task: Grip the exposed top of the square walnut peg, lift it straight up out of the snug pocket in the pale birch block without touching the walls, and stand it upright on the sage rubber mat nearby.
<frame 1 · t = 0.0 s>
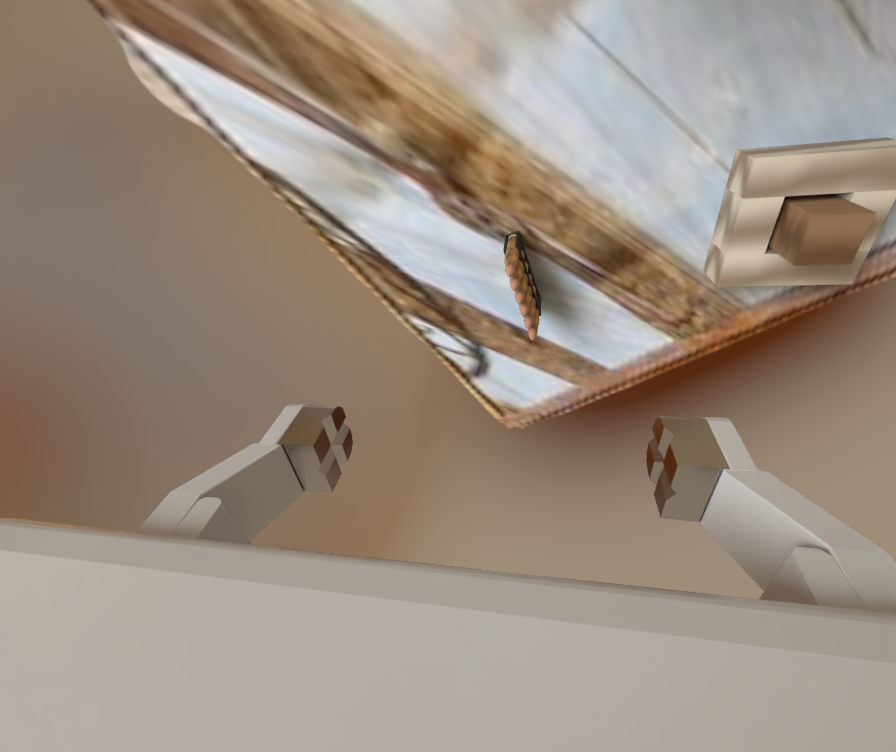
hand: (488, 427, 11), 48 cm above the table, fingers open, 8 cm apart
pocket block: (784, 211, 48), on the table
walnut peg: (806, 224, 44), in the pocket block
ammunition clip: (523, 268, 58), on the table
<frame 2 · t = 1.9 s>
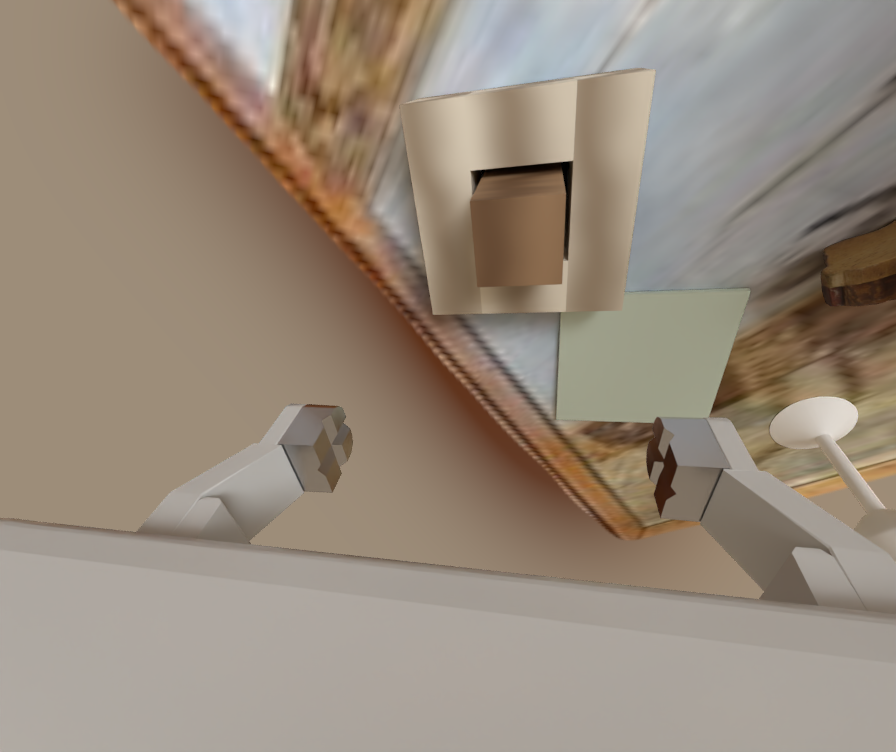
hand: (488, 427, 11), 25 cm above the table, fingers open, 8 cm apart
sage mat: (637, 361, 38), on the table
pocket block: (524, 197, 31), on the table
walnut peg: (521, 217, 27), in the pocket block
champagne flute: (811, 422, 38), on the table
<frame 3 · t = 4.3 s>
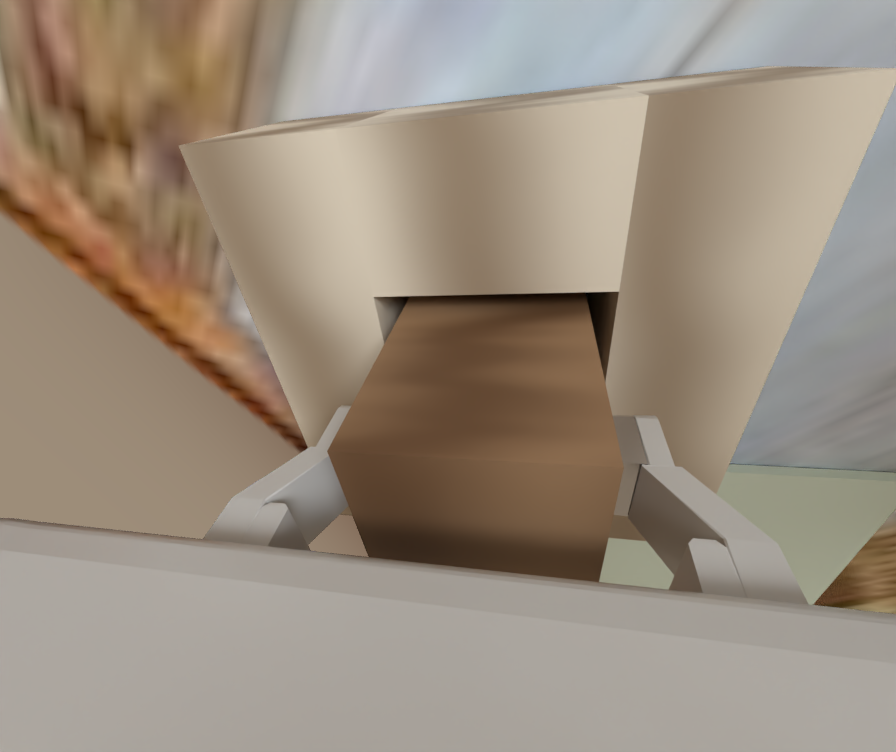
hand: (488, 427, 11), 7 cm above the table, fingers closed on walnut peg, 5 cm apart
sage mat: (690, 549, 23), on the table
pocket block: (503, 310, 16), on the table
walnut peg: (493, 389, 12), in the pocket block, touching gripper
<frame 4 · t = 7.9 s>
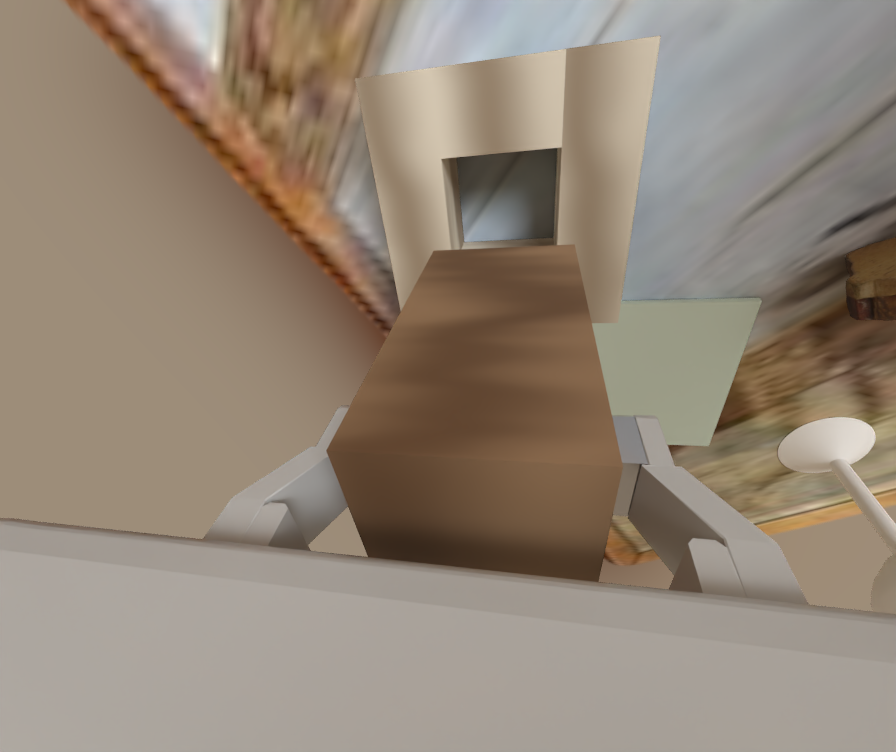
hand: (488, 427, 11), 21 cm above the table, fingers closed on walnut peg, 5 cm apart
sage mat: (634, 377, 34), on the table
pocket block: (506, 192, 27), on the table
walnut peg: (493, 389, 12), point 19 cm above the table, touching gripper
champagne flute: (823, 444, 35), on the table
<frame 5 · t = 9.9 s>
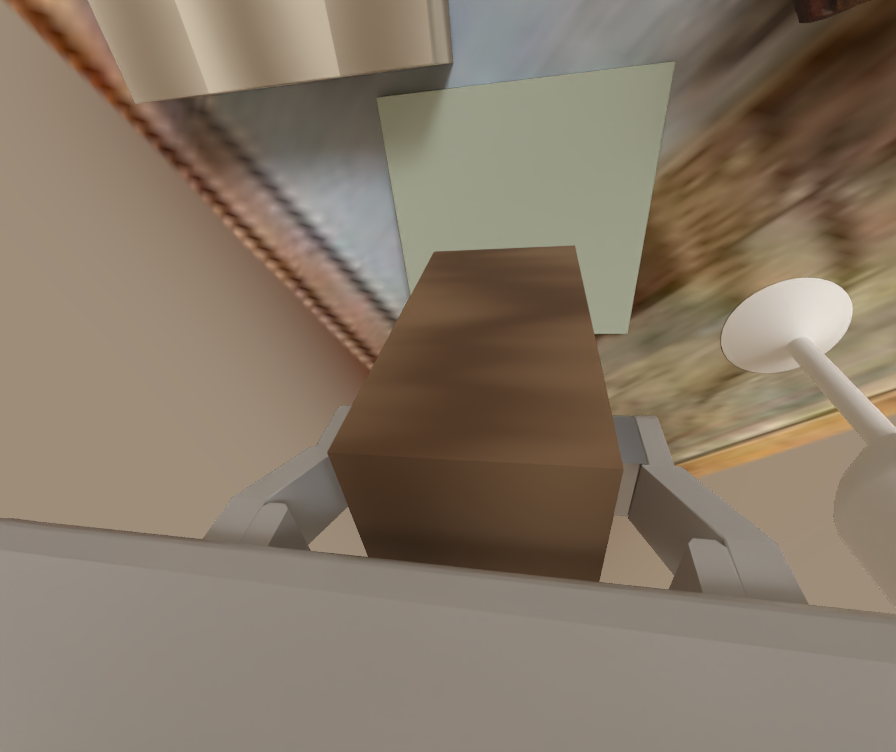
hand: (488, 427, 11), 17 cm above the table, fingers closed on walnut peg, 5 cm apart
sage mat: (516, 226, 24), on the table
walnut peg: (493, 390, 12), point 15 cm above the table, touching gripper
champagne flute: (782, 327, 25), on the table
when the fingers open (9 cm above the table, at t = 11.7 s): walnut peg drops 2 cm, resting on sage mat.
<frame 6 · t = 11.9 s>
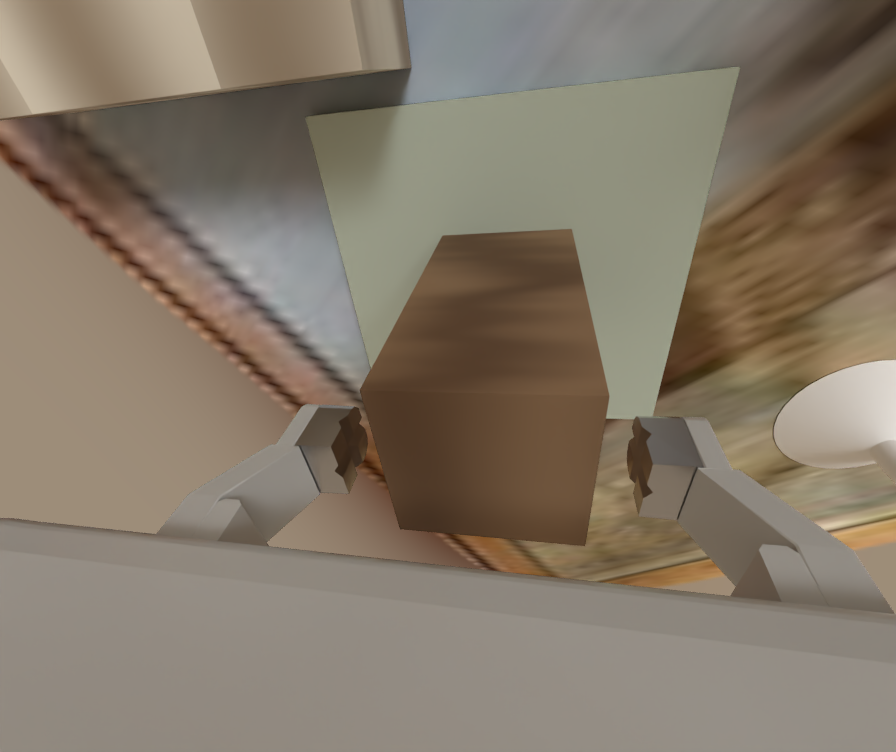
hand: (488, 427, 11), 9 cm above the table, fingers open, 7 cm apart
sage mat: (506, 287, 18), on the table
walnut peg: (498, 357, 14), on the sage mat
champagne flute: (856, 416, 19), on the table
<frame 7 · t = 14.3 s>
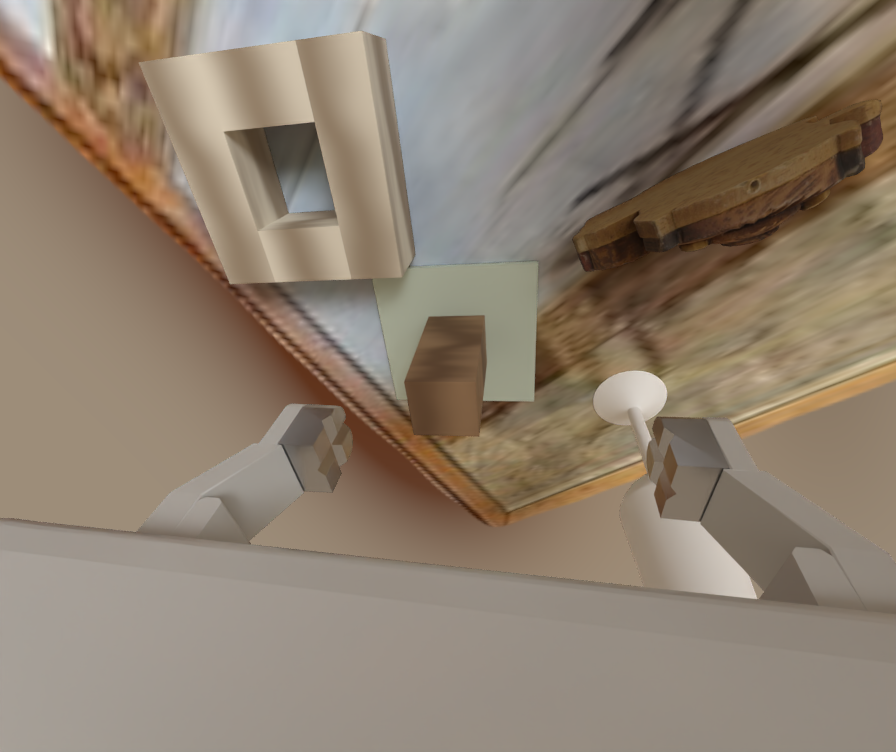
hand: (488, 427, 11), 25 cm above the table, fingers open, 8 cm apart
sage mat: (458, 338, 38), on the table
wooden carving: (685, 183, 29), on the table
pocket block: (313, 168, 32), on the table
walnut peg: (451, 371, 34), on the sage mat
champagne flute: (628, 397, 40), on the table
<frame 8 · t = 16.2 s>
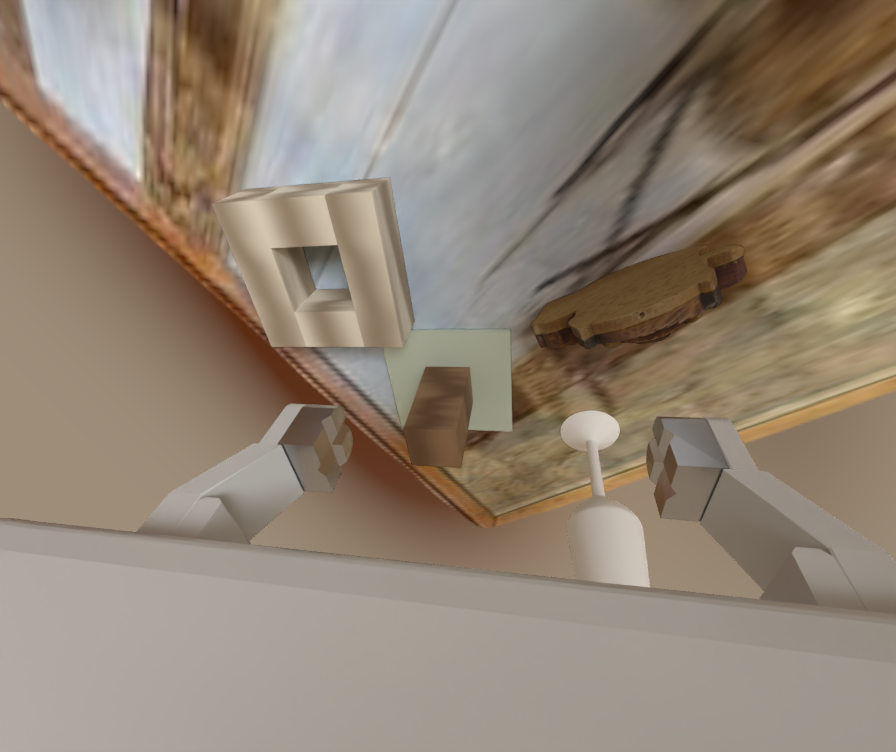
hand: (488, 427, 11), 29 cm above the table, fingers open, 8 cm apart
sage mat: (450, 382, 48), on the table
wooden carving: (621, 279, 38), on the table
pocket block: (335, 259, 41), on the table
walnut peg: (442, 413, 43), on the sage mat
champagne flute: (589, 430, 49), on the table
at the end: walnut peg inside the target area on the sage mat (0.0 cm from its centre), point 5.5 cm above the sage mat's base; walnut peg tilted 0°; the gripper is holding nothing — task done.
